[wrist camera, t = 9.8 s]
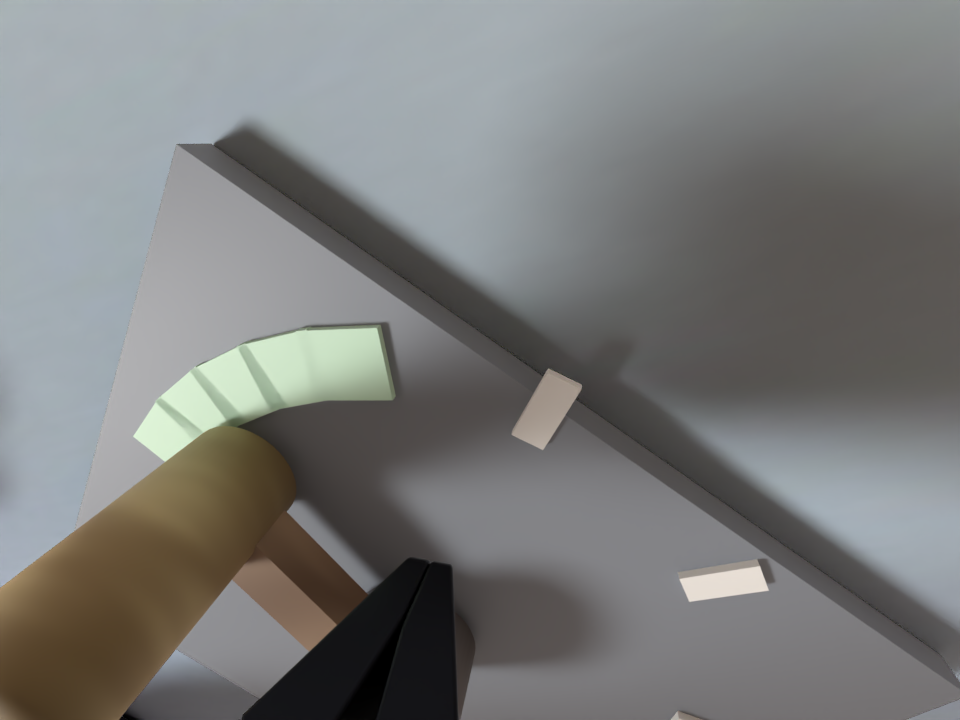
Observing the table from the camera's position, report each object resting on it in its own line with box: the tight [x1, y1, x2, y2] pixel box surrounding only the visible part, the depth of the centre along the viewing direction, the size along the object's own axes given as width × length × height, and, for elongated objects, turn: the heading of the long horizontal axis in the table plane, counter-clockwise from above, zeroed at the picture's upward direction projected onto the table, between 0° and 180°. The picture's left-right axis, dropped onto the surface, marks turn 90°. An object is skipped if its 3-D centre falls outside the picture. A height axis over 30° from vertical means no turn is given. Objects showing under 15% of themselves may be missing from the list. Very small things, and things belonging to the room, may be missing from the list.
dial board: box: [74, 144, 960, 720], centre depth 15 cm, size 19×22×1 cm
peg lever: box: [0, 426, 476, 720], centre depth 11 cm, size 10×4×6 cm, turn 37°
